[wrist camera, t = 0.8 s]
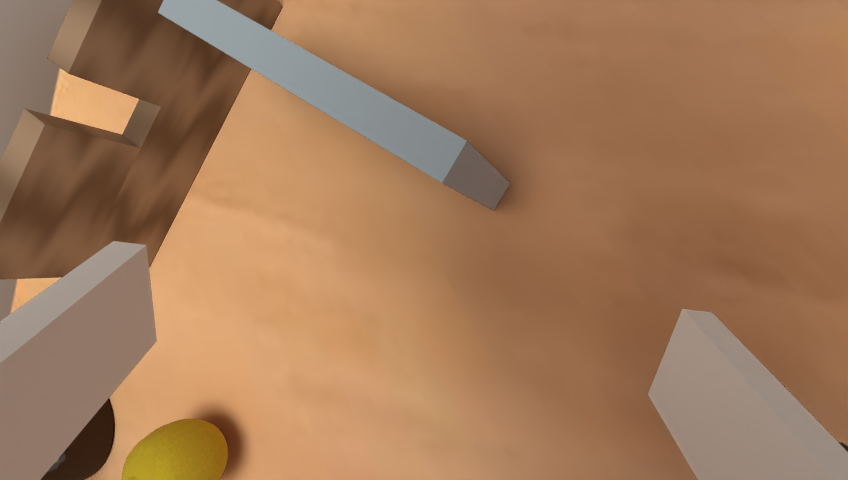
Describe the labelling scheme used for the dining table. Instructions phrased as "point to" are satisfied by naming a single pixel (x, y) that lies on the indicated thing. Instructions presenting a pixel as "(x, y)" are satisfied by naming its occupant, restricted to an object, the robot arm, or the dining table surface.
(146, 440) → the lemon
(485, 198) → the slate slotted plate
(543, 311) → the dining table surface
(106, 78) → the walnut slotted board
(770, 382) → the robot arm
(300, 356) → the dining table surface
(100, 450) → the dark brown bottle
